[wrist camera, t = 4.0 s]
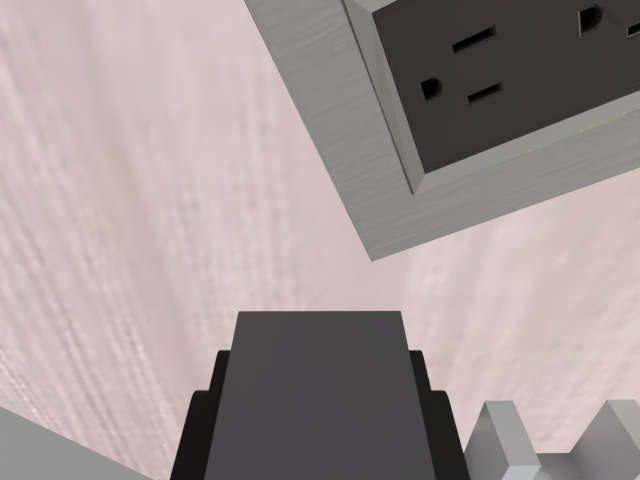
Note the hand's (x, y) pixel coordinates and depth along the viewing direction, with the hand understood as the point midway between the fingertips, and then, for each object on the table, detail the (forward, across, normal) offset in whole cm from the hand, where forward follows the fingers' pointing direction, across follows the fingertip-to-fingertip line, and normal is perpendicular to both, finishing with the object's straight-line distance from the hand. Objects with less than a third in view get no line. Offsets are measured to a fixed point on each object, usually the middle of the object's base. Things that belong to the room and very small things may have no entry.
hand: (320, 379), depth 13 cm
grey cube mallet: (+1, 0, +4) cm, 5 cm away
